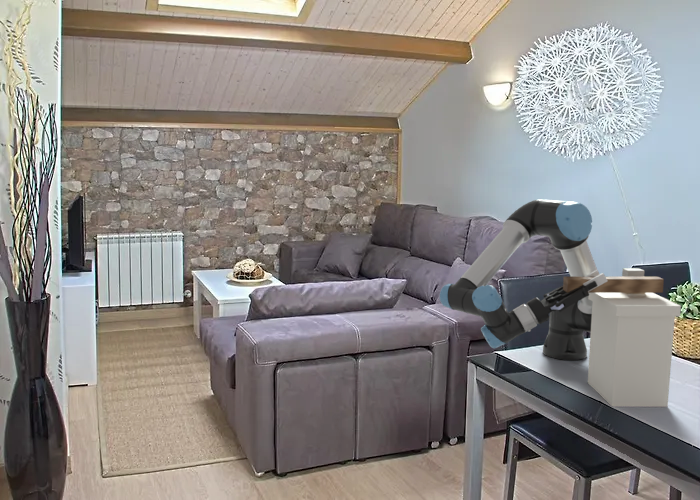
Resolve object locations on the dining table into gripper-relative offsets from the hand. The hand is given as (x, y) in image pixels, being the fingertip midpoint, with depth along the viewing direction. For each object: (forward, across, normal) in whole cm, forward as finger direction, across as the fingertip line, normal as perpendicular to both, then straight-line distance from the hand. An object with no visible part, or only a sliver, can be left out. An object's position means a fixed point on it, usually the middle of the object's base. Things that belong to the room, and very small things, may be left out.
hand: (602, 275), depth 199 cm
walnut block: (+1, 0, -6) cm, 6 cm away
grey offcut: (+9, -8, -8) cm, 15 cm away
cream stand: (-10, 0, -36) cm, 38 cm away
